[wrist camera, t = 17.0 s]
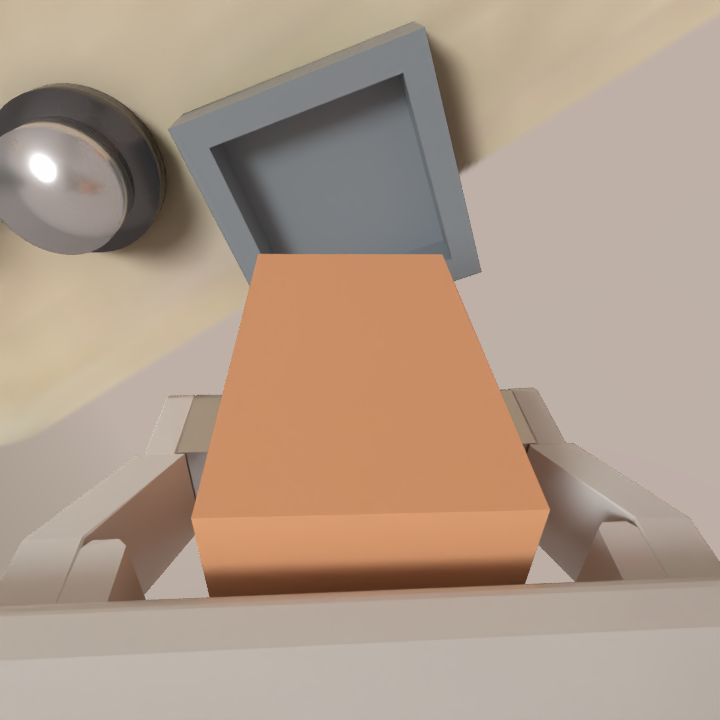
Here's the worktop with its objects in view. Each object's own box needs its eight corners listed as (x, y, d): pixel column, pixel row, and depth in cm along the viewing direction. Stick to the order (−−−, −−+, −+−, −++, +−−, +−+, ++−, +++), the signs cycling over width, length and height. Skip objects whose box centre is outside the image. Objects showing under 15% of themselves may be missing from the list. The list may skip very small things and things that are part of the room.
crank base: (109, 57, 19) (97, 61, 18) (193, 212, 22) (187, 223, 21) (-34, 118, 20) (-52, 125, 19) (68, 259, 23) (57, 271, 22)
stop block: (442, 254, 12) (550, 509, 6) (424, 396, 14) (492, 679, 8) (258, 253, 12) (190, 518, 6) (271, 398, 14) (231, 690, 8)
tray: (413, 21, 19) (424, 27, 17) (467, 247, 24) (481, 272, 22) (183, 114, 20) (167, 129, 18) (280, 309, 25) (277, 338, 23)
